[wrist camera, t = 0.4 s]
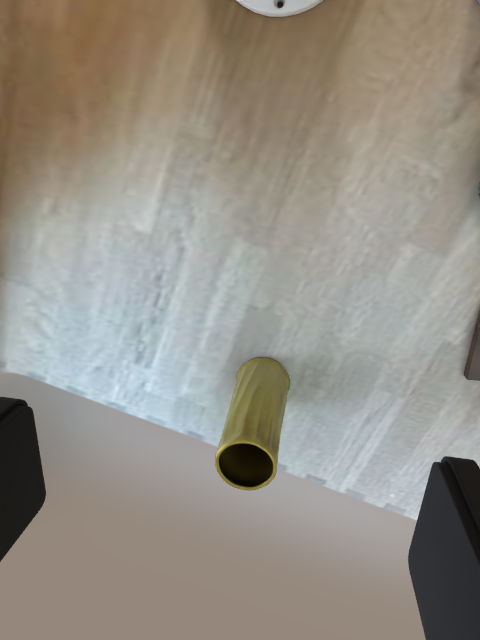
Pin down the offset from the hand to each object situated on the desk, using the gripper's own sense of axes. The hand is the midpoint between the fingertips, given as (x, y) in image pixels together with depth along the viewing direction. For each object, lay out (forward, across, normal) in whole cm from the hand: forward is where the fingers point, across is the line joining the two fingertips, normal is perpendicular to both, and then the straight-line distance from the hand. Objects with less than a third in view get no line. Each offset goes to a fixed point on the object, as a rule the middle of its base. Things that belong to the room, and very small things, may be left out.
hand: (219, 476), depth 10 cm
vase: (+35, +1, +17) cm, 39 cm away
